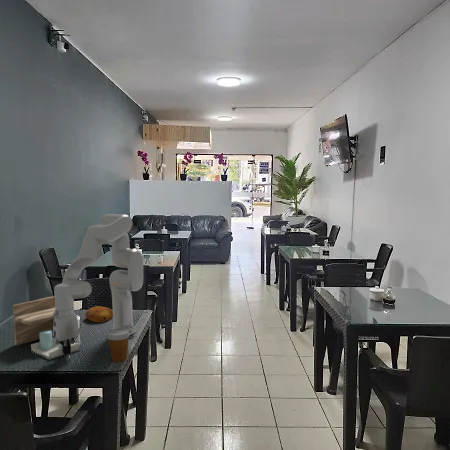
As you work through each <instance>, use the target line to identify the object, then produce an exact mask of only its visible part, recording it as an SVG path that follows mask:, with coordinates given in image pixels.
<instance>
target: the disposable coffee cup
mask: <svg viewBox="0 0 450 450" xmlns="http://www.w3.org/2000/svg"><path fill="white" fill-rule="evenodd" d="M112 329H113V328H112ZM112 329H110V330H109V331H107V334H106V337H107V340H108V346H109V347H108V348H109V352H110V357H111V361H112V362H115V363H121V362H125V361H127V359H128V348H129V339H130V338H129V337H130V336H131V335H130V333H129V330H128V329H124V328H118V329H113V330H112Z"/></svg>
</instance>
